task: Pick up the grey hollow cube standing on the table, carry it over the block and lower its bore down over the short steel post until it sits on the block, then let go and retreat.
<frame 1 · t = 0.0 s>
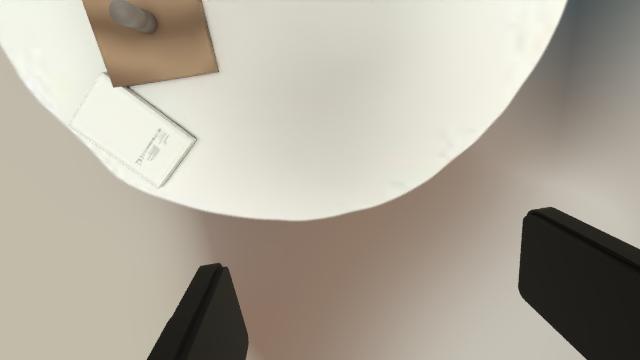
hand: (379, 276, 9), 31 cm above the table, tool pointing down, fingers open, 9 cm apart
shaft block: (153, 25, 34), on the table
external hard drive: (138, 132, 38), on the table, touching shaft block
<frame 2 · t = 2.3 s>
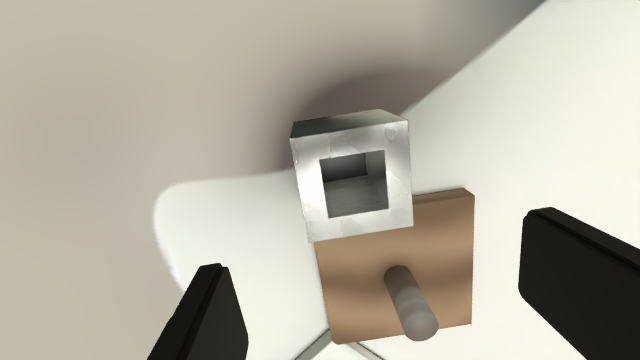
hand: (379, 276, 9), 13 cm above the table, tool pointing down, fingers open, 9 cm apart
grey hollow cube: (341, 156, 21), on the table
shaft block: (392, 265, 25), on the table
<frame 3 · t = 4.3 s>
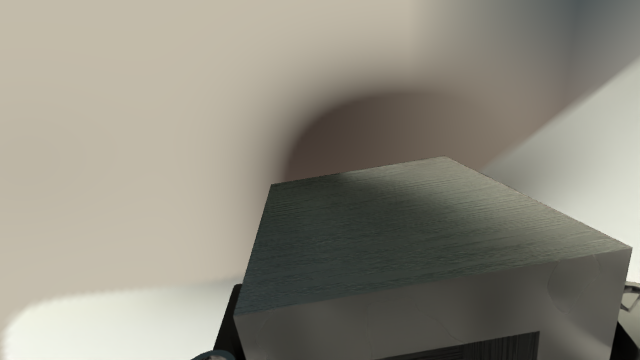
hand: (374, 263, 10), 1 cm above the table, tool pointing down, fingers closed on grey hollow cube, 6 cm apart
grey hollow cube: (367, 246, 11), on the table, touching gripper
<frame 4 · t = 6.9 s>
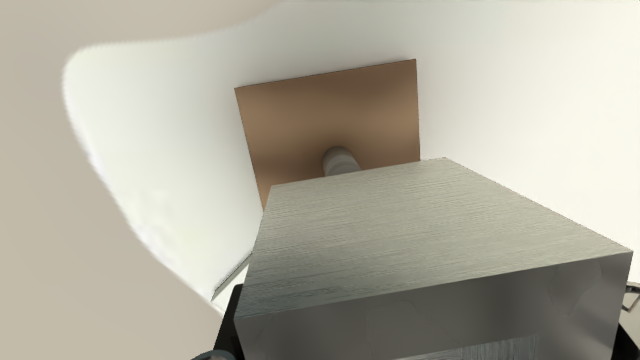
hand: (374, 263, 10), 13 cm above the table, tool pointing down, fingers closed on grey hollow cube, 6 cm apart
grey hollow cube: (367, 247, 11), point 12 cm above the table, touching gripper
shaft block: (335, 156, 23), on the table
external hard drive: (298, 298, 27), on the table, touching shaft block
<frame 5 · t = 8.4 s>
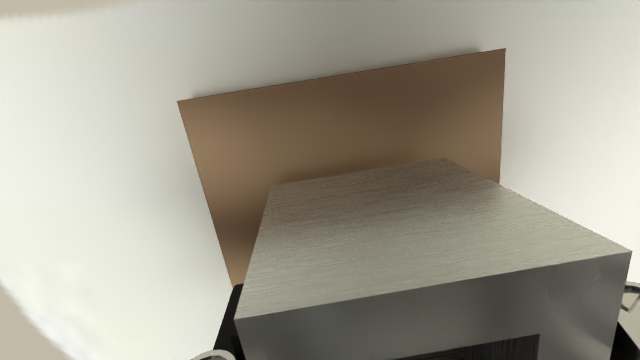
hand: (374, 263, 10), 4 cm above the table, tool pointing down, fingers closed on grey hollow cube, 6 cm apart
grey hollow cube: (367, 247, 11), point 3 cm above the table, touching gripper
shaft block: (354, 208, 14), on the table
when the fingers open (3 cm above the table, at t = 9.5 s): grey hollow cube stays where it is, resting on shaft block.
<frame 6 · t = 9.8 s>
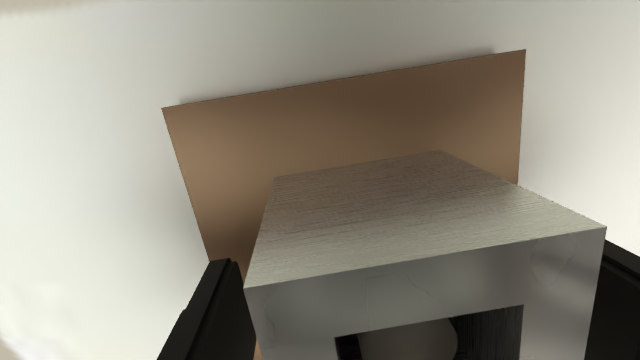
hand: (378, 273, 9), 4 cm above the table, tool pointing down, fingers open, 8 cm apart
grey hollow cube: (366, 237, 11), point 1 cm above the table, touching shaft block
shaft block: (357, 222, 13), on the table
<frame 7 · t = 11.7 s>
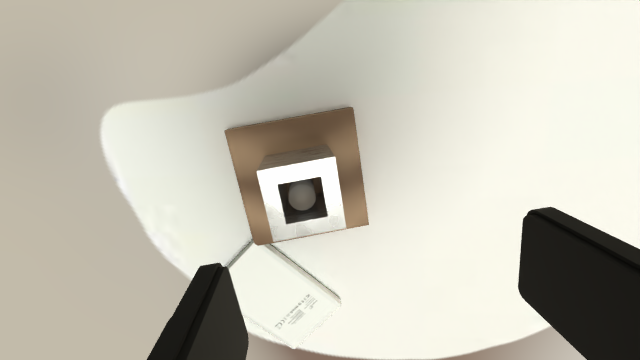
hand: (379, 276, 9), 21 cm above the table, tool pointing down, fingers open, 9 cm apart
grey hollow cube: (301, 179, 29), point 1 cm above the table, touching shaft block
shaft block: (301, 176, 30), on the table
external hard drive: (276, 289, 34), on the table, touching shaft block
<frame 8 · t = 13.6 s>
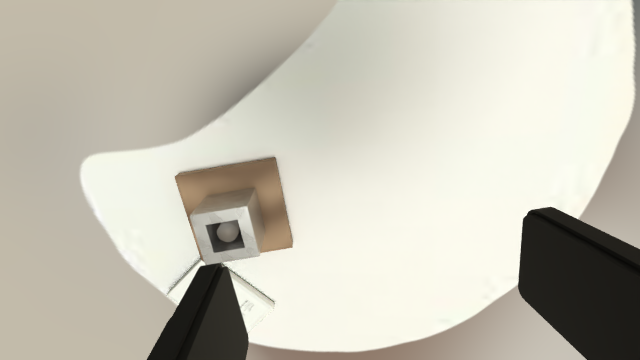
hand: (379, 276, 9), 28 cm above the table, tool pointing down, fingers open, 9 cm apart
grey hollow cube: (237, 213, 37), point 1 cm above the table, touching shaft block
shaft block: (238, 209, 38), on the table
external hard drive: (223, 294, 43), on the table, touching shaft block
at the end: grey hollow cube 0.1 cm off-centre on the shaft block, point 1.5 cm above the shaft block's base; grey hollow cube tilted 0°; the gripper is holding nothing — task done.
